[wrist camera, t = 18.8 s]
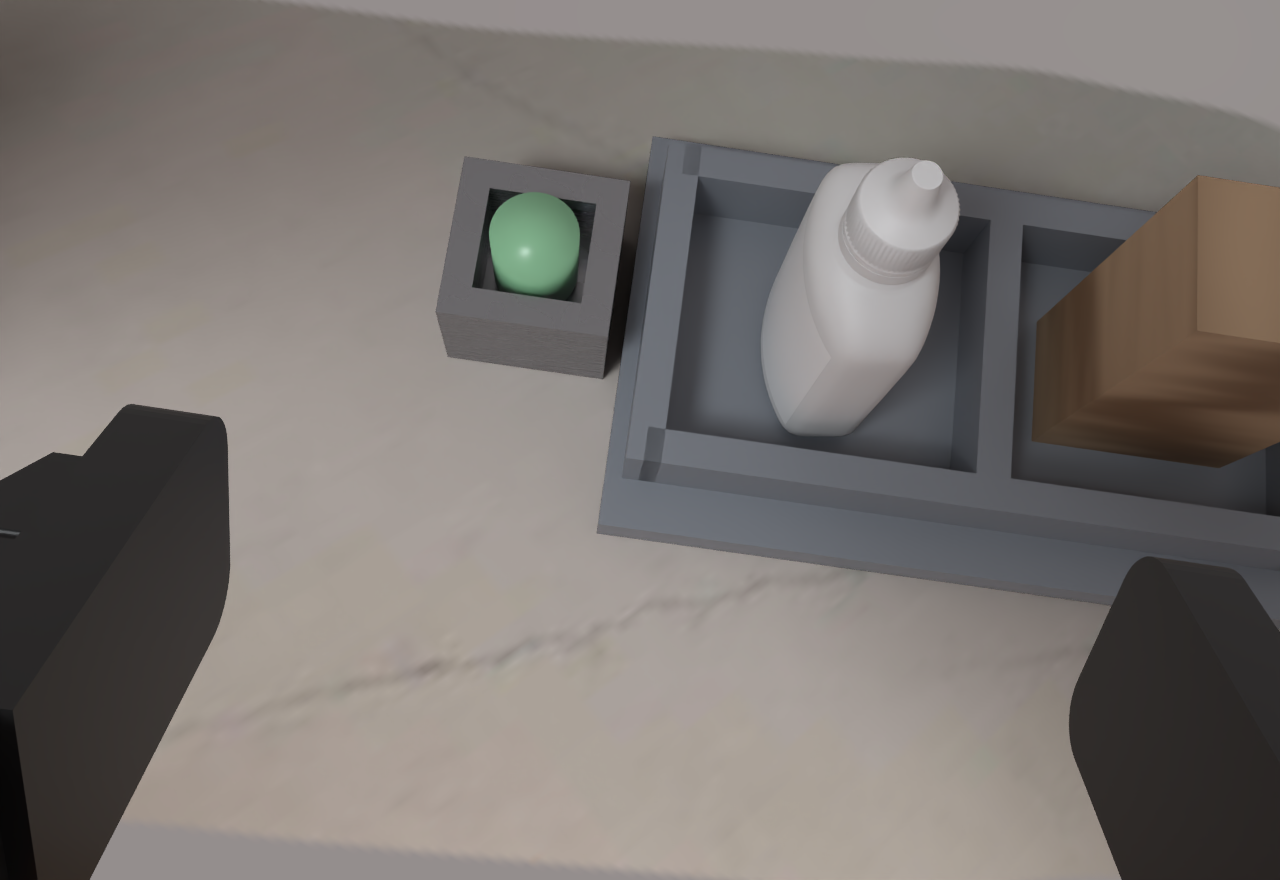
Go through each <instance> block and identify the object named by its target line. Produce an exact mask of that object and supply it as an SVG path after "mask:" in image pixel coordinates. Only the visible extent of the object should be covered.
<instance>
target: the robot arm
mask: <svg viewBox="0 0 1280 880" xmlns="http://www.w3.org/2000/svg"><path fill="white" fill-rule="evenodd" d="M229 574H230V533H229V487H228V444H227V433H226V428H225V425H224V423H223V421H222V419H221V418H220V417H216V416H209V415H203V414H196V413H189V412H182V411H176V410H169V409H162V408H155V407H148V406H142V405H135V404H129V405H126V406H125V407H123V408H122V409H121V410H120V411H119V412H118V414H117V415H116V416H115V417H114V418H113V420H112V421H111V422H110V423H109V425H108V426H107V427H106V428H105V429H104V431H103V432H102V433H101V434H100V436H99V437H98V438H97V439H96V440H95V442H94V443H93V444H92V445H91V446H90V448H89V449H88V450H87V451H86V453H85V454H84V455H83V456H76V455H69V454H62V453H55V452H53V453H51V454H49V455H47V456H45V457H43V458H41V459H40V460H38V461H36V462H34V463H32V464H30V465H28V466H26V467H25V468H23V469H21V470H19V471H17V472H15V473H13V474H12V475H10V476H8V477H6V478H4V479H2V480H0V880H90V878H91V876H92V874H93V872H94V870H95V868H96V866H97V864H98V862H99V860H100V858H101V856H102V854H103V852H104V850H105V848H106V846H107V844H108V842H109V840H110V838H111V837H112V835H113V833H114V831H115V829H116V827H117V825H118V823H119V821H120V819H121V817H122V815H123V813H124V811H125V809H126V807H127V805H128V803H129V801H130V799H131V797H132V796H133V794H134V792H135V790H136V788H137V786H138V784H139V782H140V780H141V778H142V776H143V774H144V772H145V770H146V768H147V766H148V764H149V762H150V760H151V758H152V756H153V754H154V752H155V751H156V749H157V747H158V745H159V743H160V741H161V739H162V737H163V735H164V733H165V731H166V729H167V727H168V725H169V723H170V721H171V719H172V717H173V715H174V713H175V711H176V709H177V707H178V705H179V704H180V702H181V700H182V698H183V696H184V694H185V692H186V690H187V688H188V686H189V684H190V682H191V680H192V678H193V676H194V674H195V672H196V670H197V668H198V666H199V664H200V662H201V660H202V658H203V657H204V655H205V653H206V651H207V649H208V647H209V645H210V643H211V641H212V639H213V637H214V635H215V632H216V630H217V627H218V625H219V622H220V619H221V616H222V612H223V608H224V605H225V600H226V595H227V590H228V583H229ZM1069 734H1070V743H1071V747H1072V752H1073V755H1074V758H1075V761H1076V763H1077V766H1078V768H1079V771H1080V774H1081V776H1082V779H1083V781H1084V784H1085V786H1086V789H1087V792H1088V794H1089V797H1090V799H1091V802H1092V804H1093V807H1094V810H1095V812H1096V815H1097V817H1098V820H1099V822H1100V825H1101V828H1102V830H1103V833H1104V835H1105V838H1106V840H1107V843H1108V846H1109V848H1110V851H1111V853H1112V856H1113V858H1114V861H1115V864H1116V866H1117V869H1118V871H1119V874H1120V876H1121V879H1122V880H1280V632H1279V630H1278V629H1277V627H1276V626H1275V624H1274V623H1273V621H1272V620H1271V618H1270V617H1269V615H1268V614H1267V612H1266V611H1265V609H1264V608H1263V606H1262V605H1261V603H1260V602H1259V600H1258V599H1257V597H1256V596H1255V594H1254V593H1253V591H1252V590H1251V589H1250V587H1249V586H1248V584H1247V583H1246V581H1245V580H1244V578H1243V577H1242V576H1241V575H1240V574H1239V573H1238V572H1237V571H1235V570H1233V569H1231V568H1226V567H1219V566H1212V565H1206V564H1199V563H1192V562H1185V561H1178V560H1172V559H1165V558H1158V557H1150V556H1146V557H1143V558H1141V559H1139V560H1138V561H1136V562H1135V563H1134V564H1133V565H1132V567H1131V568H1130V570H1129V571H1128V572H1127V574H1126V576H1125V578H1124V580H1123V582H1122V585H1121V587H1120V589H1119V591H1118V593H1117V596H1116V598H1115V600H1114V602H1113V604H1112V606H1111V609H1110V611H1109V613H1108V615H1107V617H1106V620H1105V622H1104V624H1103V626H1102V628H1101V631H1100V633H1099V635H1098V637H1097V639H1096V641H1095V644H1094V646H1093V648H1092V650H1091V652H1090V655H1089V657H1088V659H1087V661H1086V663H1085V666H1084V668H1083V670H1082V672H1081V674H1080V677H1079V679H1078V681H1077V683H1076V686H1075V689H1074V692H1073V696H1072V700H1071V706H1070V714H1069Z"/></svg>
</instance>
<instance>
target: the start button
mask: <svg viewBox="0 0 1280 880" xmlns="http://www.w3.org/2000/svg"><path fill="white" fill-rule="evenodd" d="M489 240H490V247H491V255H492V263H493V270H494V277H495V282H496V285H497V287H498V289H499V291H500V292H507V293H514V294H521V295H527V296H534V297H541V298H548V299H555V300H562V301H565V300H566V299H567V298H568V297H569V296H570V295H571V293H572V292H573V290H574V288H575V286H576V283H577V279H578V266H579V243H580V229H579V224H578V221H577V218H576V217H575V215H574V213H573V212H572V210H571V209H570V208H569V207H568V206H567V205H566V204H565V203H564V202H563V201H561V200H560V199H558V198H556V197H554V196H552V195H549V194H545V193H540V192H528V193H523V194H519V195H516V196H514V197H512V198H510V199H508V200H507V201H506V202H504V203H503V204H502V205H501V206H500V207H499V208H498V209H497V211H496V212H495V214H494V216H493V218H492V220H491V223H490V228H489Z"/></svg>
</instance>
